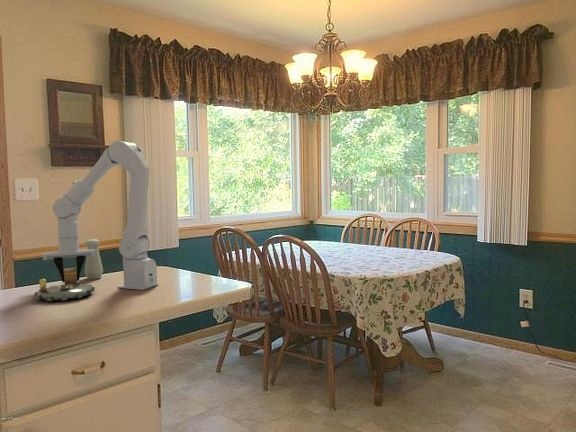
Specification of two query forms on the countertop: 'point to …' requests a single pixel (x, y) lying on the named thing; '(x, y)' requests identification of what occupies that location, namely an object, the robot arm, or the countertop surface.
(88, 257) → the salt shaker
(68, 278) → the link block
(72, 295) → the sprocket
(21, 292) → the countertop surface
